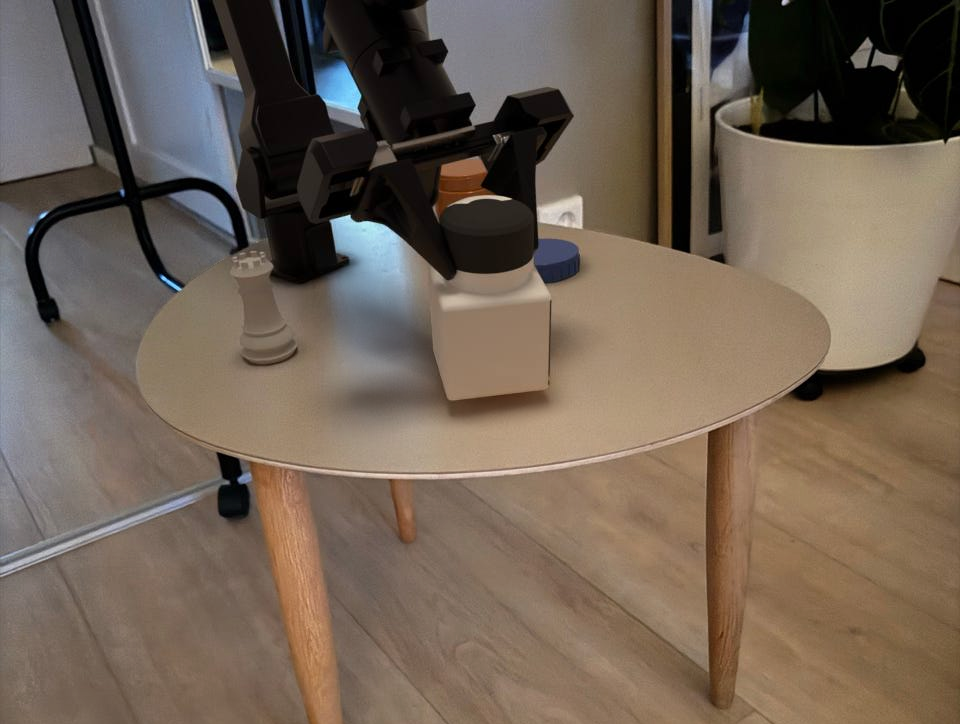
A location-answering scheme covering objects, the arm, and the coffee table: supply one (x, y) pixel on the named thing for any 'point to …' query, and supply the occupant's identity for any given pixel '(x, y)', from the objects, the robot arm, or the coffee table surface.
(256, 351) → the rook chess piece
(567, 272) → the lid
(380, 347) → the coffee table surface
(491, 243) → the medicine bottle
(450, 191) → the jar
